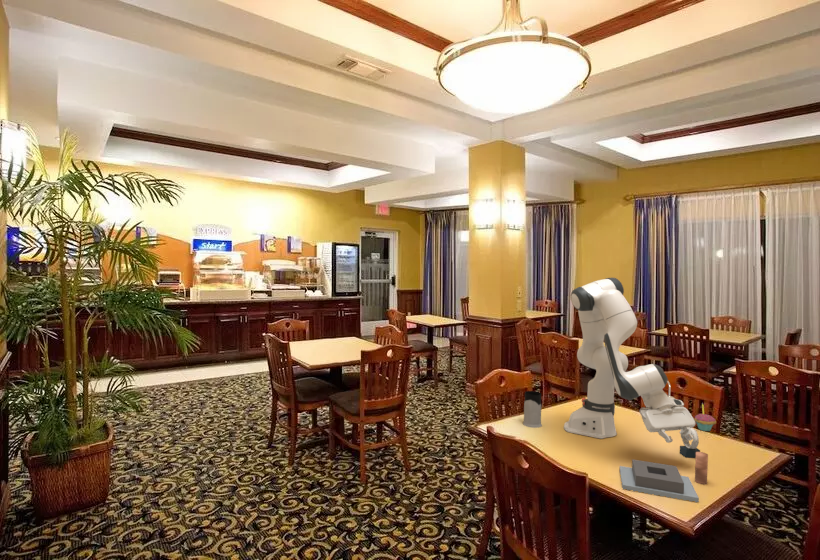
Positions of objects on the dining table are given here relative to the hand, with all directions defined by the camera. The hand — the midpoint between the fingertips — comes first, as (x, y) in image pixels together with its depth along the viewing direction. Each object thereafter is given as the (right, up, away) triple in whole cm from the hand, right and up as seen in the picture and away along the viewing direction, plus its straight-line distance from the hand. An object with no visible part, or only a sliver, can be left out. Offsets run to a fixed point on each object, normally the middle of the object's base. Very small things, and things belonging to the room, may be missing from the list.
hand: (680, 440), depth 165 cm
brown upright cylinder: (+3, -12, -6) cm, 14 cm away
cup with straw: (+26, -11, +54) cm, 61 cm away
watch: (+14, -12, +17) cm, 25 cm away
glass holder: (-39, -10, +52) cm, 66 cm away
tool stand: (-14, -12, -9) cm, 20 cm away
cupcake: (+40, -12, +47) cm, 63 cm away
